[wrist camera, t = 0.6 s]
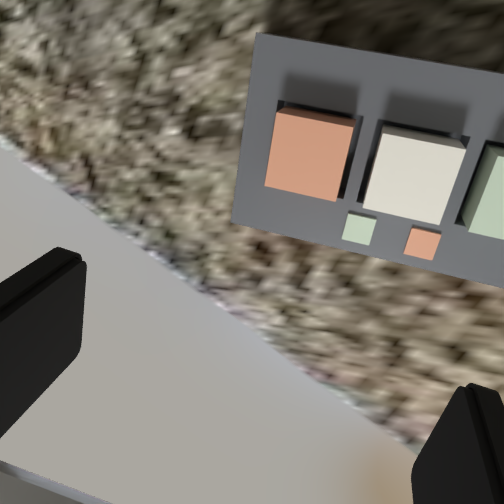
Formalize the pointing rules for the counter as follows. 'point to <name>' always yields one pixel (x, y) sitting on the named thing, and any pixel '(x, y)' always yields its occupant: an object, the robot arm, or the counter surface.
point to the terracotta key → (309, 152)
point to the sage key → (487, 196)
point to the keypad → (371, 149)
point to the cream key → (413, 174)
